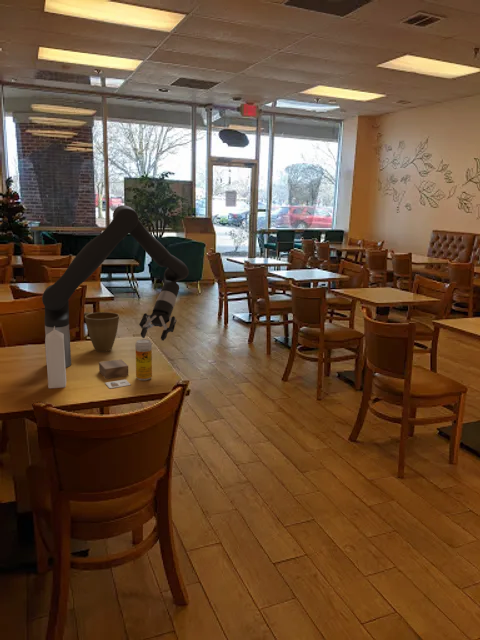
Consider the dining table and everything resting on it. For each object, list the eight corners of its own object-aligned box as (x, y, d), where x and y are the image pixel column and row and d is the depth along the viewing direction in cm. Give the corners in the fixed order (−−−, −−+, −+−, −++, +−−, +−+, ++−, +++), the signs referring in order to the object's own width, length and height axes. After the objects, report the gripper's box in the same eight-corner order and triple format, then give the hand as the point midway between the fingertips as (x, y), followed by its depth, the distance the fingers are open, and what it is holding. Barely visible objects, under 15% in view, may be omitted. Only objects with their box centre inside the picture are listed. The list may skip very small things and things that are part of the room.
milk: (48, 388, 183) (44, 330, 178) (49, 382, 189) (45, 325, 183) (66, 387, 185) (62, 329, 180) (66, 381, 191) (63, 325, 185)
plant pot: (126, 349, 231) (125, 315, 227) (98, 356, 220) (97, 321, 216) (107, 342, 241) (106, 310, 237) (79, 349, 230) (78, 314, 226)
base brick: (105, 378, 194) (105, 369, 193) (99, 371, 202) (99, 362, 201) (128, 375, 199) (128, 365, 198) (121, 368, 206) (121, 359, 205)
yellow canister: (138, 381, 192) (138, 344, 189) (134, 376, 198) (133, 339, 194) (154, 379, 195) (153, 342, 192) (149, 374, 200) (148, 338, 197)
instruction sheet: (109, 388, 185) (109, 387, 185) (105, 383, 190) (105, 382, 190) (130, 385, 189) (130, 384, 189) (125, 380, 194) (125, 379, 194)
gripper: (146, 297, 207) (132, 331, 199) (178, 300, 202) (165, 335, 195) (152, 307, 213) (139, 341, 205) (183, 311, 209) (171, 345, 201)
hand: (152, 338), depth 200 cm, fingers open, 8 cm apart
